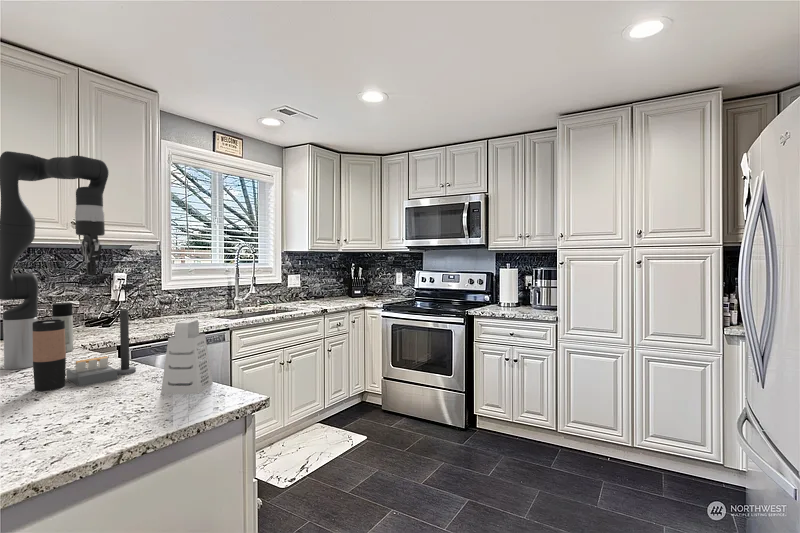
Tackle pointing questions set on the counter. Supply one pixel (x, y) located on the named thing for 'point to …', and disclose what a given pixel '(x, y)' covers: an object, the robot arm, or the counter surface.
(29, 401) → the counter surface
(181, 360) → the grater
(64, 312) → the spray can
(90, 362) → the breaker paddles
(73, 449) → the counter surface
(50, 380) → the travel mug
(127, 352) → the stand
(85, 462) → the counter surface
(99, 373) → the breaker panel
